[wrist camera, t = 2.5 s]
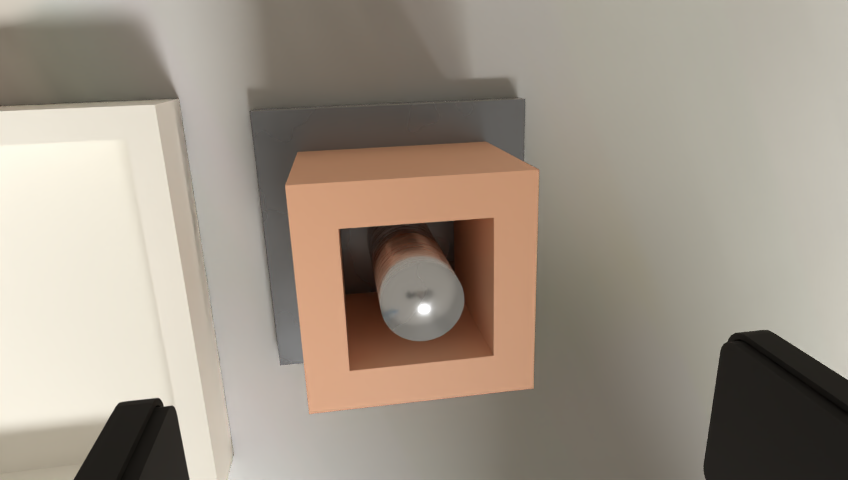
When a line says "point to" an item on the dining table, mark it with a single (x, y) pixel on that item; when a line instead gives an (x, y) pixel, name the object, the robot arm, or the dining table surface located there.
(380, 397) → the collar
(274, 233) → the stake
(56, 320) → the tray
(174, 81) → the dining table surface
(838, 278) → the dining table surface
